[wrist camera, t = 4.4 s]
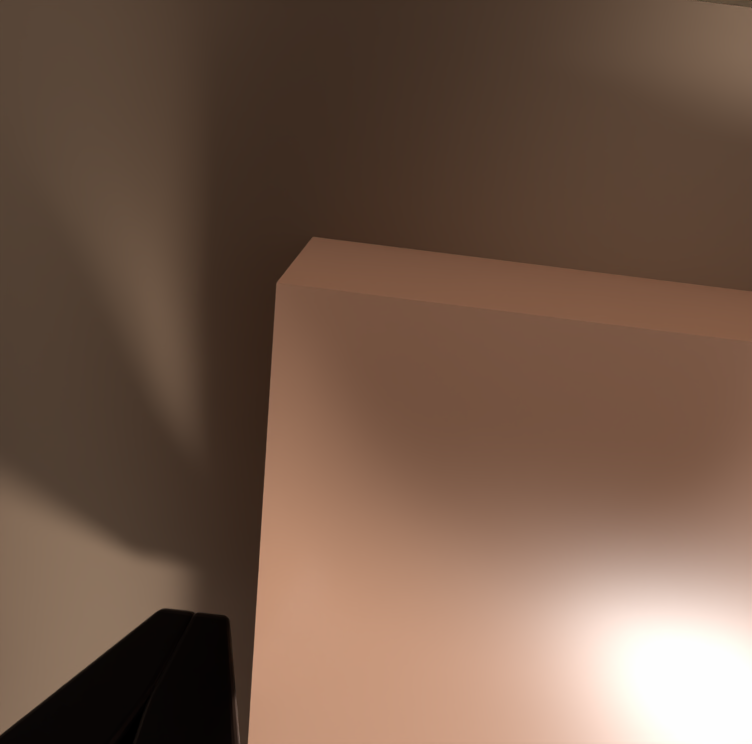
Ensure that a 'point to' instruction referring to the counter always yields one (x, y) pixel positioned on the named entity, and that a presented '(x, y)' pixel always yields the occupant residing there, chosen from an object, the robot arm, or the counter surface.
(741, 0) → the counter surface
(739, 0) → the counter surface
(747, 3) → the counter surface
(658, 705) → the salmon pink brick
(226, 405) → the wooden block
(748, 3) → the counter surface
